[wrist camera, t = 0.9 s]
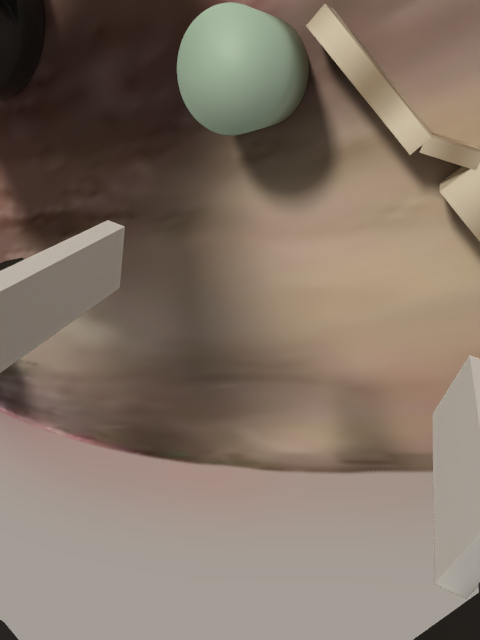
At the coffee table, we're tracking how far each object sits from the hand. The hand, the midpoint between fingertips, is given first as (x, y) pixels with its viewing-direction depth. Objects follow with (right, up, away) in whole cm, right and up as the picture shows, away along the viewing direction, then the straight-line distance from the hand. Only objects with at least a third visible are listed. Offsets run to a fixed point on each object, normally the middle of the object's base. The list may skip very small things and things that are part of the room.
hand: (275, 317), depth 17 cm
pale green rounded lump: (0, +17, +16) cm, 23 cm away
